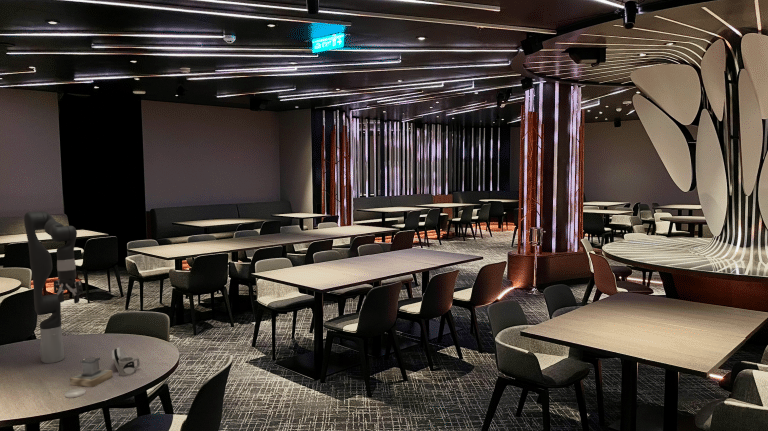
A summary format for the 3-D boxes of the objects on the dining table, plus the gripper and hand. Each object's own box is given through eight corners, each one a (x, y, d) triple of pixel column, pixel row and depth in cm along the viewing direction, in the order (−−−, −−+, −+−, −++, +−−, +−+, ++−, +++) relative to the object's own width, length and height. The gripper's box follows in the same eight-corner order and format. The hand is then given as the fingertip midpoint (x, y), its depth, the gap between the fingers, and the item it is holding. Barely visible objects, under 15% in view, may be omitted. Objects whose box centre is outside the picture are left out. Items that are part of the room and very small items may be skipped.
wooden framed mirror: (70, 384, 251) (70, 377, 251) (90, 374, 263) (90, 368, 262) (93, 387, 248) (92, 380, 248) (112, 376, 260) (112, 370, 259)
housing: (81, 375, 253) (80, 359, 252) (90, 371, 259) (89, 355, 258) (91, 376, 252) (90, 360, 251) (101, 372, 257) (100, 356, 256)
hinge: (130, 370, 268) (121, 352, 265) (120, 375, 266) (110, 357, 264) (130, 359, 283) (122, 342, 281) (121, 363, 281) (112, 346, 279)
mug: (124, 376, 260) (123, 362, 259) (116, 374, 263) (115, 360, 262) (144, 369, 268) (143, 356, 267) (135, 367, 271) (134, 354, 271)
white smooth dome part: (60, 398, 238) (59, 395, 238) (74, 390, 246) (74, 387, 246) (76, 399, 236) (76, 396, 236) (90, 391, 244) (90, 389, 244)
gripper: (47, 269, 262) (50, 303, 264) (72, 270, 258) (75, 305, 260) (60, 266, 269) (63, 300, 271) (85, 267, 266) (87, 301, 267)
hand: (69, 302), depth 265 cm, fingers open, 8 cm apart
